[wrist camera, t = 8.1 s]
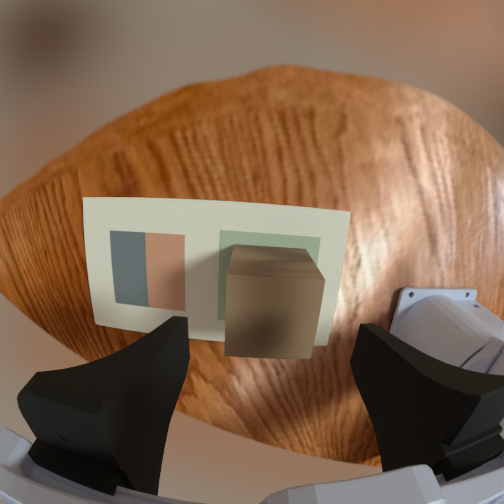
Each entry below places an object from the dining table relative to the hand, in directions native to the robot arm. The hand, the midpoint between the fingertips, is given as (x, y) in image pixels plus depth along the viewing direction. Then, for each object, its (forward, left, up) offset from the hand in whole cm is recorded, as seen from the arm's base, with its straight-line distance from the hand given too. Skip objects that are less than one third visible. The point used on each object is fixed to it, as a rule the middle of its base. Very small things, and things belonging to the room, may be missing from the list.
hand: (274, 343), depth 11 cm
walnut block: (0, +1, -10) cm, 10 cm away
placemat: (+4, +1, -10) cm, 11 cm away
